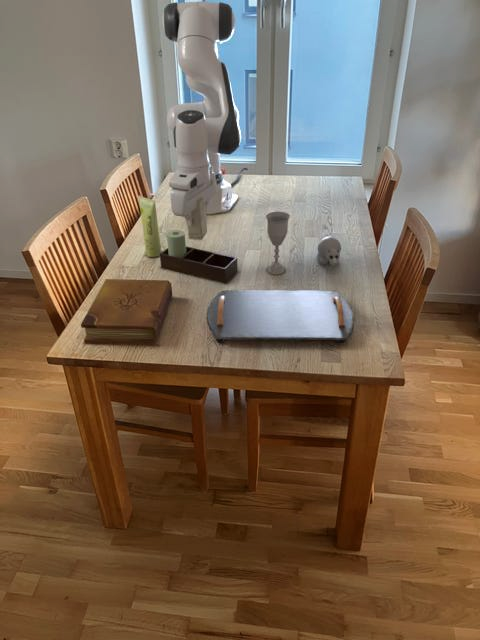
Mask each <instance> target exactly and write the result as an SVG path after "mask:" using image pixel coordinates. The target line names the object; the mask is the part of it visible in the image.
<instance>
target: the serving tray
mask: <svg viewBox="0 0 480 640" xmlns="http://www.w3.org/2000/svg"><path fill="white" fill-rule="evenodd" d="M205 318H206V322H207V326H208V329H209V330H210V332H211V334H212V336H213V337H214V338H215V340H216V342H217V343H218V344H220V343H221V344H223V342H224V340H253V341H254V340H264V341H265V340H270V341H271V340H272V341H273V340H277V341H278V340H280V341H283V340H287V341H291V340H292V341H293V340H295V341H338V343H339V344H340V345H341V344H345V343H346V341H347V340H348V339H349V338H350V337H351V335H352V331H353V330H354V326H355V323H354V319H355V318H354V313H353V310H352V308H351V307H350V306H349V303H348V302H347V300H345V298H344V297H343V296H341V294H340V293H339V292H337V291H335V290H309V289H308V290H306V289H305V290H304V289H303V290H301V289H300V290H287V289H286V290H285V289H275V290H274V289H273V290H272V289H267V290H266V289H265V290H264V289H263V290H262V289H261V290H260V289H251V290H250V289H249V290H246V289H245V290H244V289H243V290H237V289H235V290H234V289H232V290H231V289H230V290H229V289H225V290H221V291H219V292H218V293H217V294H216V296H215V297H214V298H213V299H212V300H211V302H210V303H209V306H208V307H207V312H206V317H205Z"/></svg>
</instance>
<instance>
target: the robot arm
mask: <svg viewBox="0 0 480 640" xmlns="http://www.w3.org/2000/svg"><path fill="white" fill-rule="evenodd" d="M163 9H164V10H163V12H162V16H161V17H162V18H161V24H162V30H163V33H164V34H165V37H166V38H167V39H168V40H169V41H172V42H174V43H176V54H177V55H176V56H177V64H178V66H179V68H180V69H181V71H182V72H183V73H184V74H185V83H186V85H187V87H188V88H189V89H190V90H191V91H192V92H195V93H196V94H199V95H201V96H203V101H198V102H183V103H180V104H177V105H172V106H171V107H170V108H169V110H168V112H167V115H166V124H167V127H168V129H169V131H170V132H171V133H172V134H173V145H174V148H175V149H176V152H177V161H176V162H177V168H176V169H175V171H174V173H173V174H172V176H171V177H170V178H169V179H168V187H169V188H171V190H170V193H169V194H170V196H169V197H170V206H171V213H172V214H173V215H174V216H176V217H182V218H184V219H185V224H186V226H188V225H189V226H191V225H192V224H194V218H191V214H192V211H193V210H195V209H196V208H197V201H198V200H199V199H201V198H203V202H205V205H206V215H215V214H220V213H229V212H230V211H231V210H232V209H233V207H234V205H235V204H236V202H237V201H238V200H239V196H238V195H237V194H235V193H233V185H235V184H236V183H237V182H238V181H239V180H240V178H241V174H242V172H244V171H248V170H249V169H248V167H246V166H244V167H243V168H241V169H240V170H239V171H238V173H237V177H236V178H235V179H234V180H233V181H232V182H231V183H229V182H228V181H226V180H225V179H224V176H223V175H226V173H227V170H226V169H225V168H221V155H229V156H230V155H232V154H234V153H235V152H236V151H237V150H238V148H240V145H241V140H242V134H241V129H240V125H239V120H240V114H239V113H240V112H239V110H238V108H237V106H236V105H235V102H234V97H233V91H232V86H231V85H232V84H231V80H230V76H229V70H228V68H227V65H226V64H225V63H224V62H223V61H222V60H221V59H220V58H219V53H218V52H219V51H218V42H219V45H221V44H222V43H225V42H227V41H229V40H230V39H231V38H232V37H233V34H234V31H235V28H236V18H235V13H234V12H233V8H232V6H231V5H230V4H229V3H226V2H222V1H219V2H214V1H205V0H202V1H201V0H197V1H185V2H179V3H178V2H177V1H176V2H171V3H168V4H167V5H166V6H165V7H164V8H163Z"/></svg>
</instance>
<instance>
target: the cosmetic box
mask: <svg viewBox="0 0 480 640" xmlns="http://www.w3.org/2000/svg"><path fill="white" fill-rule="evenodd" d="M191 218H194V224H192V225H191V226H189V225H187V232H188V233H187V234H188V235H187V236H188V240H195V241H203V240H204V238H205V236H206V235H207V234H208V222H207V214H206V205H205V202H203V198H201V199H199V200H198V201H197V208H196V209H195V210H193V211H192V214H191Z"/></svg>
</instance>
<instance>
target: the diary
mask: <svg viewBox="0 0 480 640" xmlns="http://www.w3.org/2000/svg"><path fill="white" fill-rule="evenodd" d="M172 298H173V287H172V282H171V281H169V280H167V279H125V278H124V279H123V278H122V279H121V278H105V280H104V282H103V284H102V285H101V287H100V289H99V291H98V293H97V294H96V296H95V298H94V300H93V302H92V303H91V306H90V307H89V309H88V310H87V312H86V314H85V316H84V318H83V320H82V321H81V323H80V328H82V329H85V337H84V339H83V342H84V343H86V344H115V345H116V344H117V345H151V346H154V345H156V344H157V343H158V340H159V337H160V334H161V331H162V328H163V325H164V322H165V320H166V316H167V313H168V310H169V306H170V303H171V300H172Z"/></svg>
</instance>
